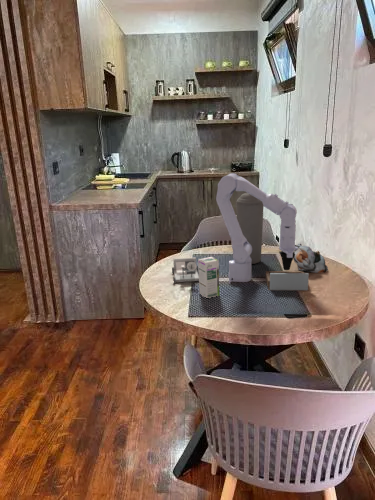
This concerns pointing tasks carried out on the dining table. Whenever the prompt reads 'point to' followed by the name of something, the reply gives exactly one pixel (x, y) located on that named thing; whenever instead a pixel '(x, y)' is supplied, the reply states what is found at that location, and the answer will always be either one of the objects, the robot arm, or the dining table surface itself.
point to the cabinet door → (289, 281)
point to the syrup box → (209, 277)
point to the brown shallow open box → (280, 272)
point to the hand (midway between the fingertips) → (286, 269)
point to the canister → (251, 223)
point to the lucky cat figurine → (309, 260)
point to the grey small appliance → (185, 270)
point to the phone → (295, 315)
